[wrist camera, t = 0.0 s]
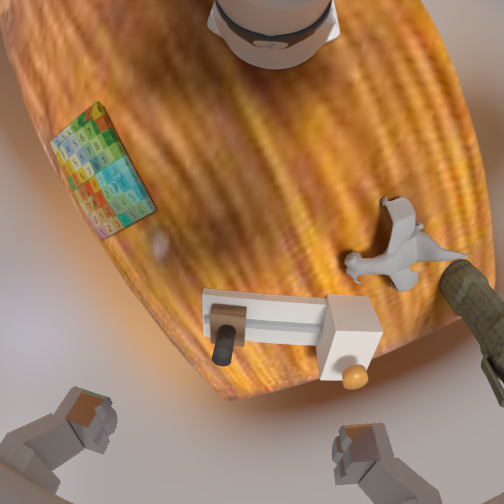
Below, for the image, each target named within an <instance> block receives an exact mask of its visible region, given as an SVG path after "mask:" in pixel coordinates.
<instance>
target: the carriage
mask: <svg viewBox="0 0 504 504" xmlns="http://www.w3.org/2000/svg"><path fill="white" fill-rule="evenodd" d="M246 313H247V307H240V306H230V305H220V304H212V308H211V311H210V336H211V343H213V344H215V347H214V352H213V356H212V361H213V362H214V363H215V364H216V365H219V366H227V365H229V364H230V363H231V358H232V352H233V346H241V347H244V341H245V325H246Z"/></svg>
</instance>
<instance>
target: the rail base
mask: <svg viewBox="0 0 504 504" xmlns="http://www.w3.org/2000/svg"><path fill="white" fill-rule="evenodd" d="M212 304H220V305H230V306H240V307H247V313H246V325H245V341H254V342H265V343H279V344H294V345H313V346H316V353H317V360H318V369H319V377H320V380H342V371H343V370H344V369H345V368H347V367H348V366H351V365H354V364H360V365H363V366H364V367H365V368H366V370H367V367H368V365H369V363H370V361H371V359H372V357H373V354H374V352H375V350H376V348H377V345H378V343H379V341H380V338H381V336H382V333H383V330H382V328H381V325H380V323H379V320H378V318H377V315H376V313H375V310H374V308H373V306H372V303H371V301H370V299H369V296H356V295H339V294H327V297H326V298H314V297H300V296H286V295H274V294H262V293H251V292H240V291H229V290H219V289H209V288H204V289H203V292H202V313H203V333H204V336H207V337H211V336H210V311H211V308H212Z"/></svg>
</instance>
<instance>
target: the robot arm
mask: <svg viewBox="0 0 504 504" xmlns="http://www.w3.org/2000/svg"><path fill="white" fill-rule="evenodd" d="M207 26H208V29H209V30H210V31H211V32H213V33H214V34H216V35H218V36H220V37H221V38H223V39H224V40H225V42H226V43H227V45H228V46H229V48H230V49H231V50H232V51H233V52H234V54H236V55H237V56H238V57H239V58H240V59H242V60H243V61H245V62H247V63H249V64H251V65H253V66H256V67H260V68H264V69H286V68H290V67H294V66H297V65H299V64H301V63H303V62H305V61H306V60H308V59H309V58H310V57H312V56H313V55H314V54H315V53H316V51H317V50H318V49H319V48H320V47H321V46H323V45H324V44H327V43H330V42H332V41H334V40H336V39H337V38H338V37H339V35H340V28H339V23H338V18H337V13H336V9H335V4H334V0H215V1H214V3H213V6H212V9H211V12H210V15H209V18H208V21H207ZM111 405H112V401H111V399H110V398H109V397H106V396H102V395H99V394H96V393H93V392H90V391H87V390H85V389H82V388H79V387H76V386H75V387H73V388H71V389H70V391H69V392H68V394H67V396H66V397H65V398H64V400H63V401H62V403H61V404H60V406H59V407H58V409H57V410H56V412H55V413H54V415H53V414H49V415H46V416H44V417H42V418H40V419H38V420H36V421H34V422H31V423H29V424H27V425H25V426H22V427H20V428H18V429H16V430H14V431H11V432H9V433H7V435H6V436H5V438H4V439H3V441H2V442H1V444H0V504H73V503H71V502H69V501H67V500H64V499H63V498H61V497H59V496H57V495H55V493H56V491H57V489H58V487H59V485H60V480H59V478H58V477H57V476H56V475H55V474H54V473H53V472H52V471H53V470H54V469H56V468H57V467H59V466H60V465H62V464H63V463H65V462H66V461H68V460H69V459H71V458H72V457H74V456H75V455H76V454H78V453H80V452H81V451H82V450H84V448H87V449H89V450H92V451H95V452H98V453H101V454H104V452H105V450H106V448H107V446H108V444H109V438H108V436H109V435H111V434H112V433H114V431H115V429H116V424H117V414H116V411H115V410H114V409H113V408H112V407H111ZM332 460H333V461H334V462H335V463H336V464H337V466H336V468H335V469H334V476H335V484H336V485H345V484H357V483H358V485H359V487H360V488H361V489H362V490H363V491H364V492H365V494H366V495H367V496H368V497H369V498H370V499H371V501H372V502H373V503H374V504H442V501H441V498H440V494H439V491H438V490H437V489H436V488H434V487H433V486H432V485H431V484H429V483H428V482H427V481H426V480H424V479H423V478H422V477H421V476H419V475H418V474H417V473H416V472H415V471H413V470H412V469H411V468H410V467H409V466H407V465H406V464H405V463H404V462H403V461H401V460H400V459H399V458H394V455H393V451H392V447H391V444H390V441H389V437H388V434H387V431H386V428H385V425H384V424H383V423H373V424H358V425H343V426H342V427H341V428H340V430H339V436H338V437H336V438H335V440H334V442H333V446H332ZM482 504H504V492H503V493H502V494H500V495H498V496H496V497H494V498H492V499H490V500H488V501H487V502H484V503H482Z"/></svg>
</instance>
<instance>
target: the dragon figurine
mask: <svg viewBox="0 0 504 504" xmlns="http://www.w3.org/2000/svg"><path fill="white" fill-rule="evenodd" d="M382 199H383V201H382V200H381V202H382V203H383V205H382V207H384V205H385V206H386V207H387V210H388V212H389V215H390V217H391V219H392V221H393V227H392V232H391V237H390V241H389V244H388V248H387V249H386V250H385V252H384V253H383V254H381V255H379V256H377V257H374V258H366V259H365V258H362V257H361V255H360V253H359V252H352V253H350V254H348V255H347V256H346V259H345V260H344V261H345V265H346V266H347V269H346V273H347V274H348V275H350V276H351V277H352V278H353V279H354V281H355V283H357V284H359V283H361V282H362V281H361V282H358V281H357V277H358V276H359V275H376V274H383V275H388V276H389V277H390V278H391V279H392V281H393V282H394V284H395V286H394V285H393V284H392V283H391V284H390V286H391V287H392V288H393V289H395V290H397V291H398V292H401V291H407V290H410V289H411V288H412V287H413V286H414V285H415V284H416V282H417V280H418V279H419V278H418V273H416V272H413V271H411V269H410V267H409V266H410V265H412V264H414V263H415V262H423V261H449V260H455V259H461V258H464V257H469V255H468V254H463V253H458V252H455V251H451V250H446V249H444V248H442V247H440V246H439V245H438V244H437V243H436V242H435V241H434V240H433V239H432V238H431V237H430V236H429V235H428V234H427V233H426V232H420V230H421V229H423V224H421V223H417V222H415V214H416V213H415V210H414V208H413V206H412V204H411V203H410V202H409V201H408V200H407V199H406V198H404V197H401V198H398V199H395V200H393V201H387V197H386V196H385V199H384V198H383V197H382ZM396 287H397V288H396Z"/></svg>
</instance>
